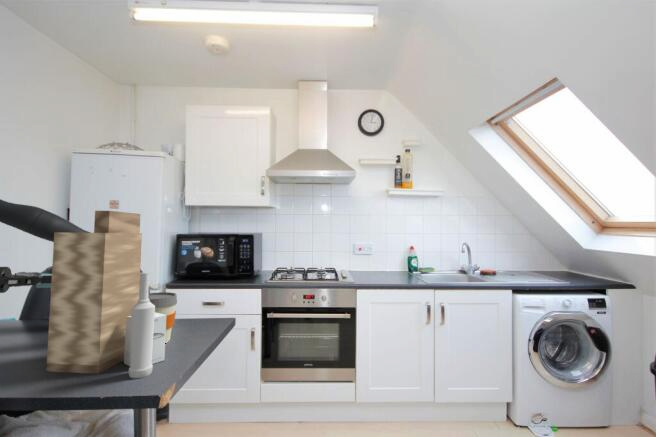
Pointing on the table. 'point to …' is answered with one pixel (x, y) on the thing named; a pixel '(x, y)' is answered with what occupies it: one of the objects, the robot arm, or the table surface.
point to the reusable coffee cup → (165, 308)
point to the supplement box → (158, 339)
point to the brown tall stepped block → (93, 293)
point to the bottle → (142, 332)
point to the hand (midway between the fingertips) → (60, 277)
